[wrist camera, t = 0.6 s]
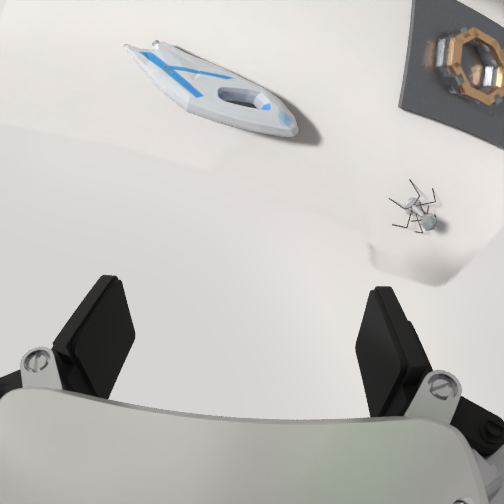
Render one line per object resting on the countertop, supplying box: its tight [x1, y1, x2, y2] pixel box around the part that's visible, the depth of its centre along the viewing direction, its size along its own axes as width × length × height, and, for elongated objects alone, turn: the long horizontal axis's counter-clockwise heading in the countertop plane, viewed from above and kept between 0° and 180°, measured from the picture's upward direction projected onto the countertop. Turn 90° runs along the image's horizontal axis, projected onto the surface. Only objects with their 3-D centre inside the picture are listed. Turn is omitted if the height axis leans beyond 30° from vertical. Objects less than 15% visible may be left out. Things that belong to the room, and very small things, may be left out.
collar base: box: [398, 0, 504, 148], centre depth 27 cm, size 18×18×4 cm
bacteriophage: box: [389, 179, 437, 233], centre depth 36 cm, size 7×8×7 cm
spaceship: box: [123, 40, 299, 137], centre depth 32 cm, size 23×7×4 cm
